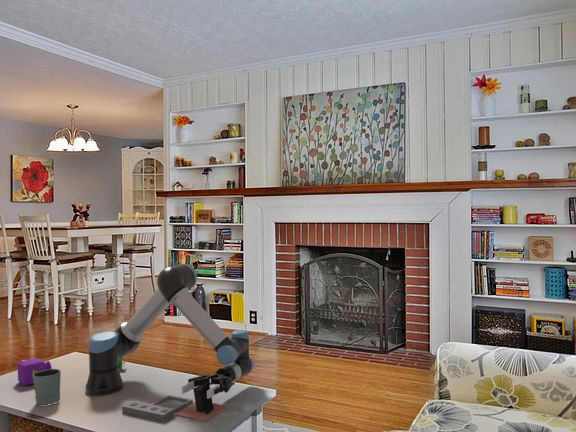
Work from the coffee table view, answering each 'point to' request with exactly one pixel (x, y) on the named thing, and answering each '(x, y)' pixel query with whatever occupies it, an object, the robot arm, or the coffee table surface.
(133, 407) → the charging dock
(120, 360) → the geometric puzzle
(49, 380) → the grey-green cup
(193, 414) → the mat
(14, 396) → the coffee table surface
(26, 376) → the toy camera
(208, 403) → the speaker
